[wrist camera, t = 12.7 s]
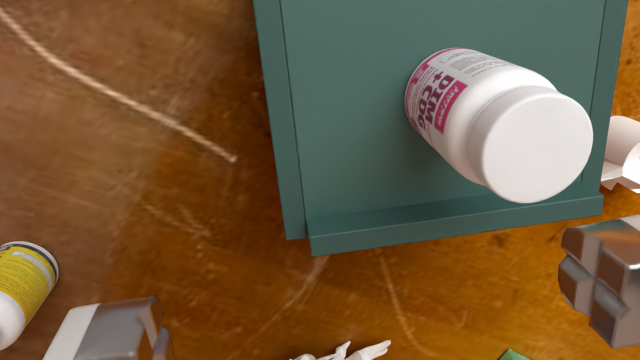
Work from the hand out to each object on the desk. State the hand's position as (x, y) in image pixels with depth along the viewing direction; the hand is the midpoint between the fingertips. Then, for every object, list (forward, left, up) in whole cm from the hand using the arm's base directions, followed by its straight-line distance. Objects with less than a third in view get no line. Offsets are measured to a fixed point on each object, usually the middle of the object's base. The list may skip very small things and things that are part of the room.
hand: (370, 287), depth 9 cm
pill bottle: (0, +7, -15) cm, 17 cm away
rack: (0, +7, -29) cm, 30 cm away
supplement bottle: (+14, -24, -29) cm, 40 cm away
